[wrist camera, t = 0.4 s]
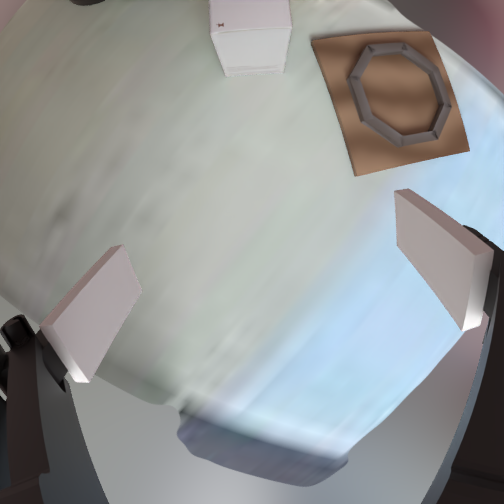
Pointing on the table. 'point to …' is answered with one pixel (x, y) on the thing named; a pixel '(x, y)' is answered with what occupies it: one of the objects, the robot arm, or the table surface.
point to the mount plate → (391, 98)
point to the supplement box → (251, 35)
